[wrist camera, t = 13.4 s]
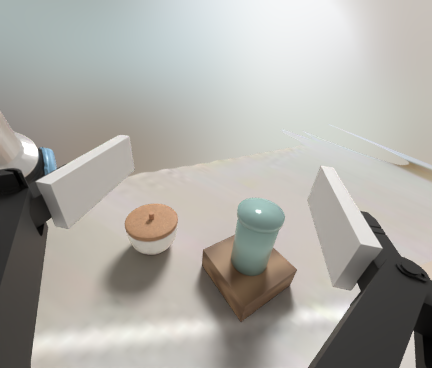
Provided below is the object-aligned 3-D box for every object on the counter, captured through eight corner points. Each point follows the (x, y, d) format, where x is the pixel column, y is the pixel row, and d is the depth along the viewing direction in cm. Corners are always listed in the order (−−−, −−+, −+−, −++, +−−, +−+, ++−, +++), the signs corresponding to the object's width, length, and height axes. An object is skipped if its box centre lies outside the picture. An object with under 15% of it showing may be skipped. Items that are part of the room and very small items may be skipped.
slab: (202, 265, 45) (203, 249, 42) (247, 242, 51) (251, 227, 49) (240, 322, 36) (245, 306, 33) (290, 285, 43) (297, 269, 40)
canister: (221, 253, 42) (228, 205, 35) (250, 239, 45) (261, 193, 39) (246, 285, 36) (260, 235, 30) (276, 265, 40) (294, 218, 34)
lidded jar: (174, 265, 44) (172, 233, 39) (122, 262, 44) (114, 230, 39) (181, 228, 53) (180, 199, 48) (138, 226, 53) (133, 196, 48)
